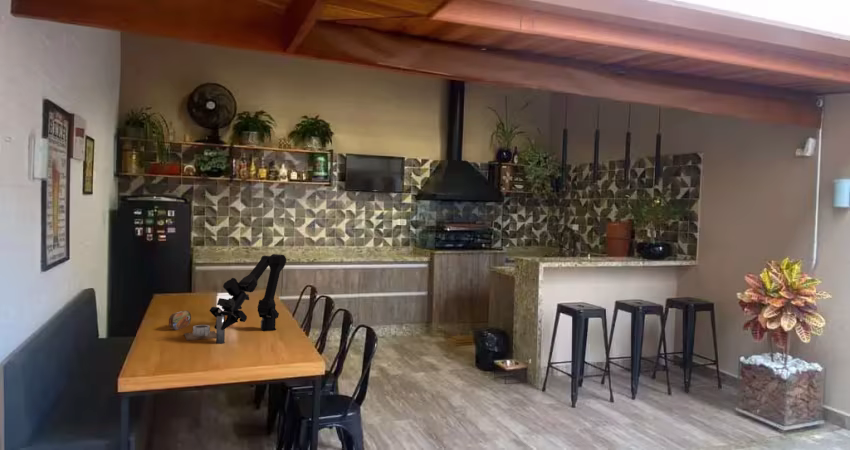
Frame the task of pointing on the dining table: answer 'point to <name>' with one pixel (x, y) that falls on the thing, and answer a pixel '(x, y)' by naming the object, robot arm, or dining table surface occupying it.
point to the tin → (179, 320)
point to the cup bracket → (201, 330)
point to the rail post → (220, 333)
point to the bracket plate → (190, 337)
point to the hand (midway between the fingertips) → (218, 329)
